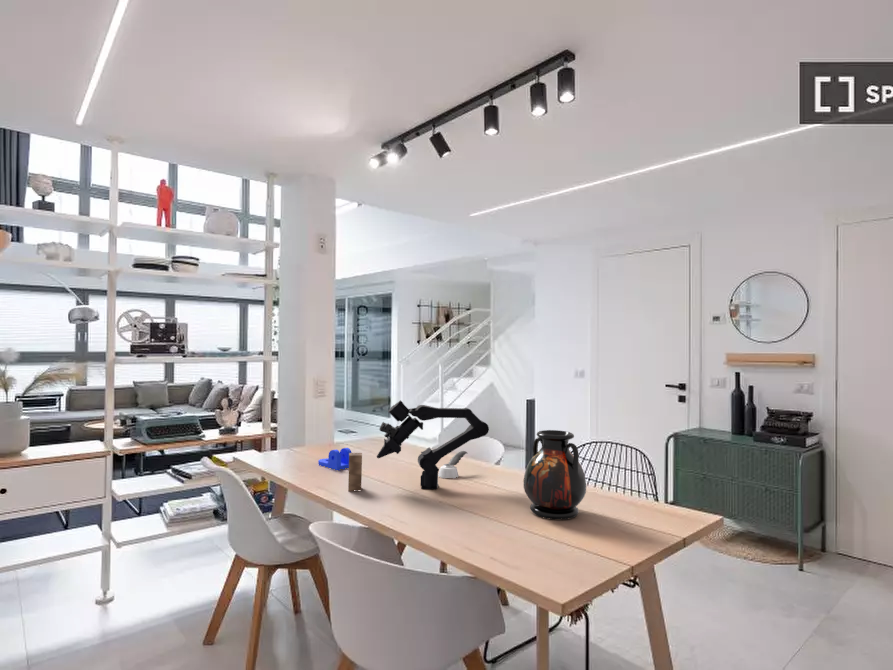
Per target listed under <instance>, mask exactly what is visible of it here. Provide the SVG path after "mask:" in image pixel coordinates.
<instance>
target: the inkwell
mask: <svg viewBox="0 0 893 670" xmlns="http://www.w3.org/2000/svg"><path fill="white" fill-rule="evenodd" d="M466 454H468V452H467V451H466V450H461V451H458V452H457V453H456V454H455V455H453V456H452V457H451V458H450V460H449V462H447V463H444V464H443V465H441V466H440V468H439V471H438V476H439V477H438V478H440V477H441V478H440V479H445V478H453V479H457V478H458V477H460V476H459V471H458V468H457V466H456V465H458V464H459V463H460V461H461V460H462V458H463V457H464V456H465V455H466ZM456 477H457V478H456Z"/></svg>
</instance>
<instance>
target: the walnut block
mask: <svg viewBox="0 0 893 670" xmlns="http://www.w3.org/2000/svg"><path fill="white" fill-rule="evenodd" d="M362 464H363V452H352V453H349V469H348V485H347V486H348V488H347V489H348V492H355V491H354V490H361V491H362V476H363V475H362V471H363V466H362Z"/></svg>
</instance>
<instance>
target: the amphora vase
mask: <svg viewBox="0 0 893 670" xmlns="http://www.w3.org/2000/svg"><path fill="white" fill-rule="evenodd" d="M536 436H537V437H536V438H535V439H534V440H533V445H532V458H530V460H529V462H528V464H527V465H526V468H525V472H524V475H523V481H522V482H523V490H524V492H525V495H526V496H527V498H528V499H529V500H530V502H531V504H530V507H529V508H530V511H531V512H532V514H534V515H536V516H537V515H538V517H540V516H541V517H540V518H543V517H544V519H547V518H550V519H549V520H555V519H564V520H569V519H568V518H571V519H573V518H575V517H576V516H577V515H579V509H578V507H577V506H578V505H579V504H580V503H581V502H582V501H583V499H584V498H585V496H586V493H587V481H586V475H585V472H584V468H583V466H582V465H581V463H580V458H579V457H580V456H579V450H578V447H577V445H576V444H575V443H573V442H569V441H570V440H572V439H574V437H575V435H574V433H573V432H570V431H566V430H565V431H564V430H558V429H557V430H555V429H548V430H547V429H546V430H545V429H544V430H543V429H542V430H539V431H537V432H536ZM539 442H540V444H541V447H540V449H539V451H538V448H539V447H538V446H539ZM570 448H571V450H572V452H571V450H570Z"/></svg>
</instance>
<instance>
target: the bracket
mask: <svg viewBox="0 0 893 670" xmlns="http://www.w3.org/2000/svg"><path fill="white" fill-rule="evenodd" d="M349 453H353V452H352V450H351V449H350V448H349V447H344V448H341V449H340V451H339V450H338V449H331V450H329V452H328V457H327V458H320V459H318V463H317V465H318V464H319V465H318V466H320V465H321V466H320V467H323V466H325V467H324V468H326V467H328V468H327V469H329V468H332V469H331V470H333V469H335V470H334V471H336V470H338V471H341V470H340V469H343V470H346V469H345V468H349Z"/></svg>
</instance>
